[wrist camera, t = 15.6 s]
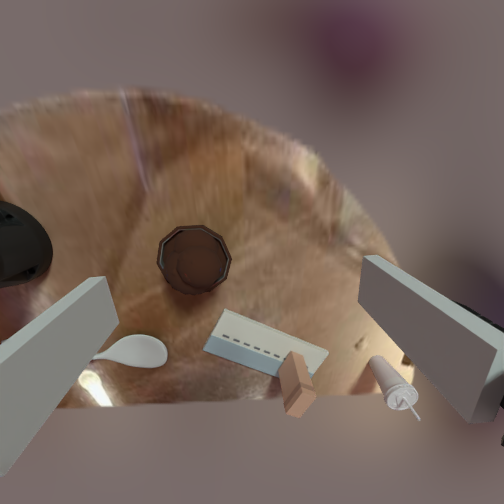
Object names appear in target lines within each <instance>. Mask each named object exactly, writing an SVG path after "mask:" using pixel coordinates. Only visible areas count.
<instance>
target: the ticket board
mask: <svg viewBox="0 0 504 504" xmlns="http://www.w3.org/2000/svg"><path fill="white" fill-rule="evenodd" d="M203 350H204V351H206V352H209V353H212V354H215V355H217V356H220V357H223V358H226V359H228V360H231V361H234V362H237V363H239V364H242V365H245V366H248V367H250V368H253V369H256V370H259V371H261V372H264V373H267V374H270V375H272V376H275V377H278V378H279V372H278V369H279V368H280V367H281V365H282V364H283V362H284V361H285V359H286V358H287V357H288V355H289V354H290V352H291V351H293V352H296V353H298V354H301V355H303V357H304V360H305V363H306V366H307V369H308V372H309V375H310V378H311V377H312V376H313V375H314V372H315V371H316V370H317V369H318V367H319V366H320V365H321V363H322V362H323V361H324V360H325V358H326V357H327V356H328V354H329V353H328V351H327V350H325V349H323V348H320V347H318V346H315V345H313V344H310V343H308V342H306V341H303V340H301V339H298V338H296V337H293V336H291V335H288V334H286V333H283V332H281V331H279V330H276V329H274V328H271V327H269V326H266V325H264V324H261V323H259V322H257V321H254V320H252V319H249V318H247V317H244V316H242V315H239V314H237V313H235V312H232V311H230V310H227V309H225V308H224V310H223V312H222V314H221V316H220V317H219V319H218V321H217V323H216V325H215V327H214V328H213V330H212V332H211V334H210V336H209V337H208V339H207V341H206V343H205V345H204V347H203Z"/></svg>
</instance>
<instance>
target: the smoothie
mask: <svg viewBox="0 0 504 504" xmlns="http://www.w3.org/2000/svg"><path fill="white" fill-rule="evenodd" d="M369 365H370V367H371V369H372V372H373V374H374V376H375V378H376V380H377V382H378V384H379V386H380V389H381V391H382V393H383V395H384V400H385V402H386V403H387V405H388V407H390V408H391V409H393V410H404V409H407V408H410V410H411V411H412V413H413V414H414V416H415V417H416V419H417V420H418V421H420V420H421V419H420V418H419V416H418V415H417V413H416V412H415V411H414V409H413V408H412V405H414V404H415V403H416V401H417V399H418V392H417V391H416V390H415V388H414V387H413V386H412V385H410V384H408V383H407V381H406V380H405V379H404V378H403V377H402V376H401V375H400V374H399V373H398V372H397V371H396V370H395V369H394V368H393V367H392V366H391V365H390V364H389V363H388V362H387V361H386V360H385V358H384V357H383V356H381V355H375V356H373V357H371V358H370V360H369Z"/></svg>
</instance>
